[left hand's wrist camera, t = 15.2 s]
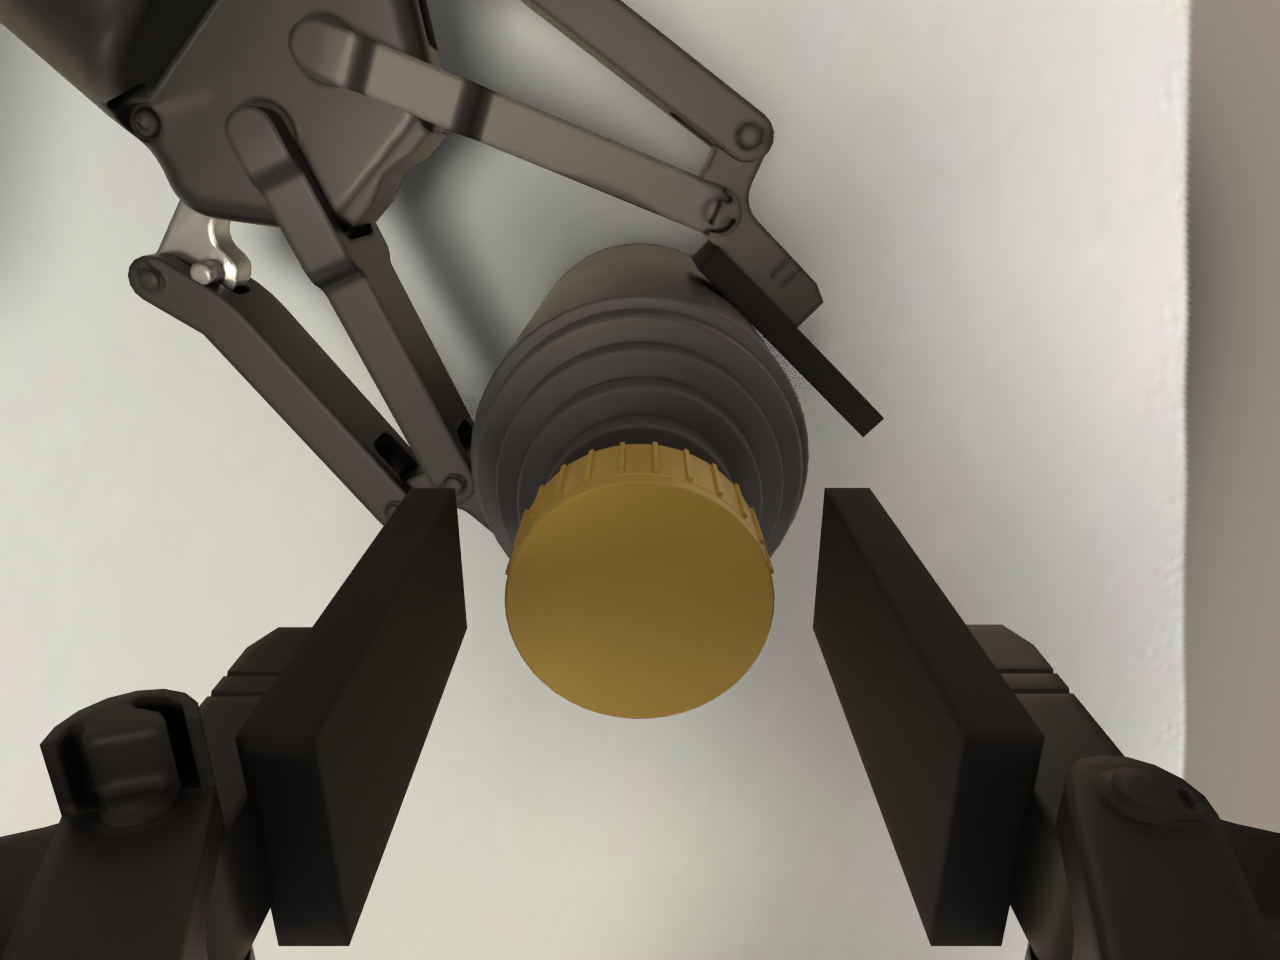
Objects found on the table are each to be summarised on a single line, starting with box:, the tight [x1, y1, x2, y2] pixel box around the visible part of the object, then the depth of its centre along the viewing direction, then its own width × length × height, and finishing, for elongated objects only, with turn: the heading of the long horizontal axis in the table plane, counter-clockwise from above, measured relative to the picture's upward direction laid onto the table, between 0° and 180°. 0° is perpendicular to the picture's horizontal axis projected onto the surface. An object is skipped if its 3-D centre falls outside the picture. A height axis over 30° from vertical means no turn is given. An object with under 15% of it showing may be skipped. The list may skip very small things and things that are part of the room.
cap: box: [505, 442, 774, 719], centre depth 14 cm, size 4×4×2 cm
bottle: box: [471, 244, 809, 558], centre depth 22 cm, size 8×8×18 cm
